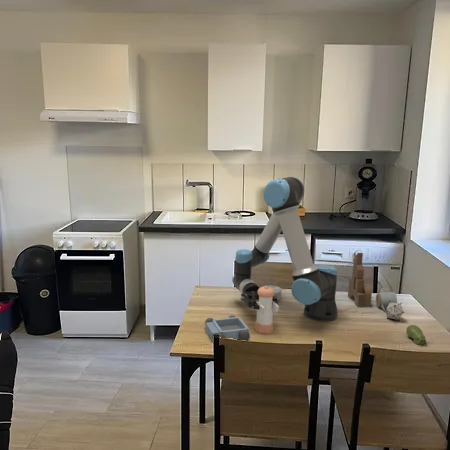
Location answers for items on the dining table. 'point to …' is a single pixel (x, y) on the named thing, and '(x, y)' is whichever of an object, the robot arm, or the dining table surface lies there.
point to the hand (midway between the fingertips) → (270, 310)
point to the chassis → (227, 328)
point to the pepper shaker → (265, 310)
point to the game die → (394, 310)
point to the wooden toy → (359, 284)
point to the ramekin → (275, 290)
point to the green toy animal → (416, 334)
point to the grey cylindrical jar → (385, 299)
